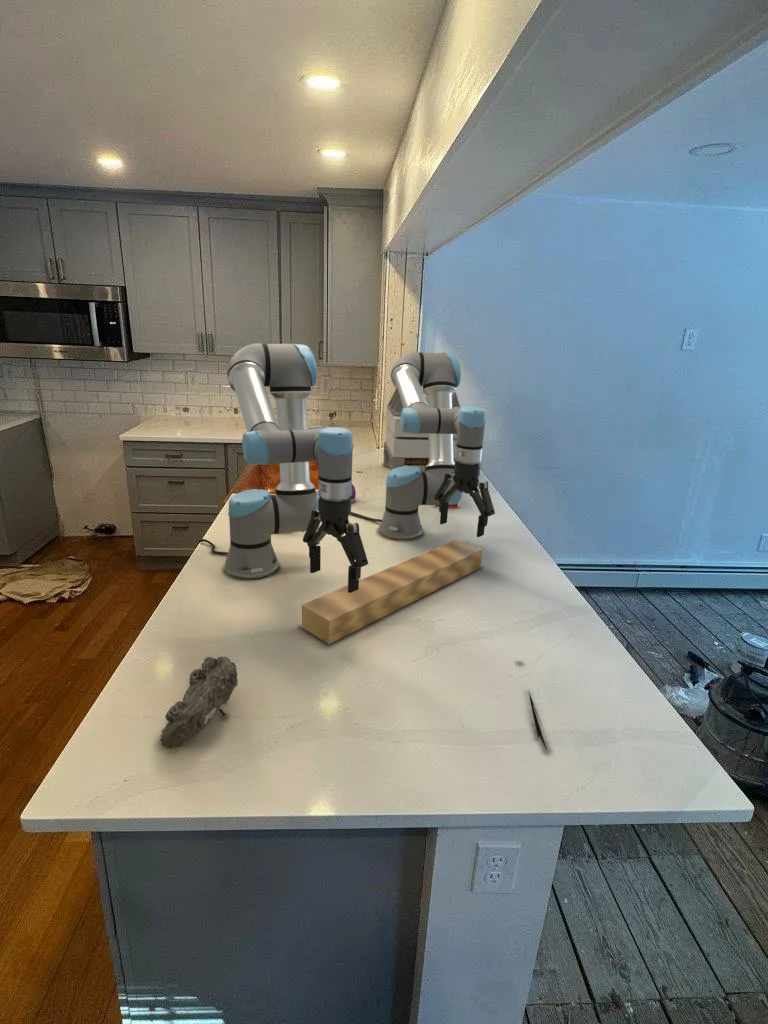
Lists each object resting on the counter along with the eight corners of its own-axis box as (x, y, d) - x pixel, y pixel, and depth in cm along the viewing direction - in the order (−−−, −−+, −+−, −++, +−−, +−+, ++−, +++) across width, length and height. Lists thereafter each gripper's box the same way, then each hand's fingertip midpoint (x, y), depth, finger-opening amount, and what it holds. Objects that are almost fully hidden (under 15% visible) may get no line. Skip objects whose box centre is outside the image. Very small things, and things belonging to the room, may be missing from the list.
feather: (520, 667, 129) (525, 661, 129) (546, 754, 103) (553, 747, 102) (514, 663, 129) (519, 657, 129) (538, 750, 103) (545, 742, 102)
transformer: (382, 463, 289) (386, 382, 275) (445, 464, 293) (451, 384, 279) (390, 482, 257) (394, 392, 243) (460, 483, 261) (468, 394, 247)
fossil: (187, 658, 118) (238, 626, 113) (219, 688, 121) (270, 658, 116) (136, 742, 99) (195, 708, 94) (175, 775, 101) (234, 744, 96)
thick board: (454, 557, 183) (456, 539, 181) (480, 567, 177) (482, 549, 174) (301, 627, 139) (301, 604, 137) (329, 644, 133) (329, 621, 131)
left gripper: (287, 487, 134) (288, 568, 141) (361, 515, 118) (358, 605, 125) (312, 481, 139) (312, 559, 146) (386, 507, 123) (382, 594, 131)
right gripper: (426, 454, 170) (421, 521, 177) (497, 473, 154) (489, 544, 161) (441, 451, 175) (436, 515, 182) (512, 468, 159) (503, 538, 166)
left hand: (333, 580), depth 136 cm, fingers open, 13 cm apart
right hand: (461, 529), depth 172 cm, fingers open, 13 cm apart
